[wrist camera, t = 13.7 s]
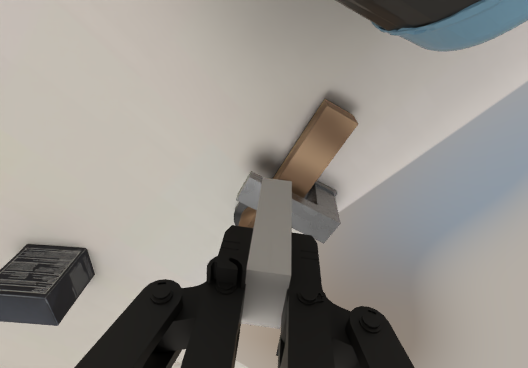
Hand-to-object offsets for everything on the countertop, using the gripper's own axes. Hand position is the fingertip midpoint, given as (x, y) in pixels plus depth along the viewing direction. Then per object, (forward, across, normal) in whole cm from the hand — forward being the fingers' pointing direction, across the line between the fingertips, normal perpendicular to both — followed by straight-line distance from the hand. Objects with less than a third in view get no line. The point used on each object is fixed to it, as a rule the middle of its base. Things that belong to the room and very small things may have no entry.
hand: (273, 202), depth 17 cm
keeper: (+24, +2, -12) cm, 27 cm away
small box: (+25, -34, -33) cm, 53 cm away
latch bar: (+23, +2, -11) cm, 25 cm away
